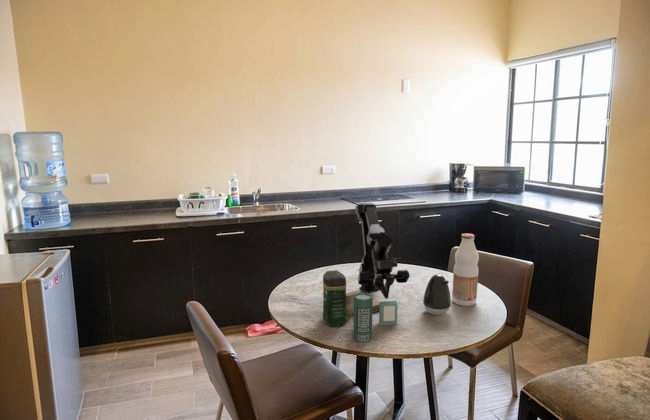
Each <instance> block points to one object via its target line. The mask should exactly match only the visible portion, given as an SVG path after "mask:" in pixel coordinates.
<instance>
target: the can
mask: <svg viewBox="0 0 650 420" xmlns="http://www.w3.org/2000/svg"><path fill="white" fill-rule="evenodd" d="M373 299H374V297H373V295H372V294H370V293H368V292H360V293H357V294H355V295H354V314H353V319H352V320H353V324H352V325H353V326H352V327H353V329H352V331H353V332H352V334H353V337H352V338H353V340H354V341H356V342H358V343H368V342H371V341H372V340H373V312H372V309H373Z"/></svg>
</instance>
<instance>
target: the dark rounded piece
mask: <svg viewBox="0 0 650 420" xmlns="http://www.w3.org/2000/svg"><path fill="white" fill-rule="evenodd" d="M448 284H449V280H446V278H445V276H443V275H441V274H434V275H432V276H431V278H430V279H429V280H428V283H427V285H426V287H425V291H424V294H423V300H422V302H423V305H424V309H425V311H427V313H429V314H430V315H433V316H442V315H445V314H447V313H448V311H449V310H450V307H451V305H452V299H451V298H452V297H451V293H450V292H451V291H450V288H449V285H448Z"/></svg>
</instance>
